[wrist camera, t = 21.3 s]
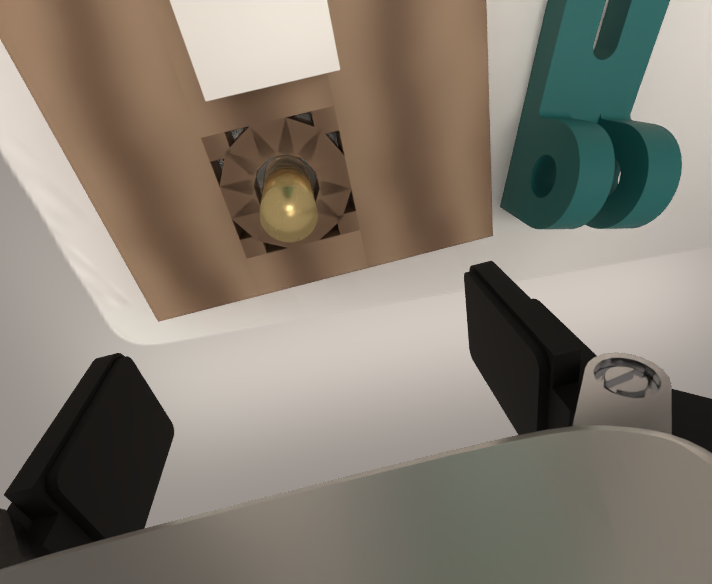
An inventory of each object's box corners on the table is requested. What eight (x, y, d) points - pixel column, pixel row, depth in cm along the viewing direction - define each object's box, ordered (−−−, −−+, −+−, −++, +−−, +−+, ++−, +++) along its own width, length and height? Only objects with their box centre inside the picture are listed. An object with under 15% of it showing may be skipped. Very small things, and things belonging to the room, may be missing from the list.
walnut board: (462, -120, 22) (482, -140, 20) (478, 224, 32) (492, 235, 30) (-3, -16, 21) (-36, -25, 19) (166, 303, 31) (158, 321, 29)
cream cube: (327, 68, 23) (340, 69, 18) (222, 92, 23) (205, 101, 17) (298, -70, 20) (304, -116, 15) (177, -43, 20) (141, -80, 14)
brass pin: (313, 193, 29) (323, 234, 22) (272, 203, 29) (269, 248, 22) (302, 150, 27) (309, 180, 20) (259, 161, 27) (251, 194, 20)
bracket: (576, 206, 33) (653, 243, 26) (499, 206, 32) (558, 244, 25) (671, -89, 24) (823, -148, 17) (569, -103, 23) (690, -172, 16)
